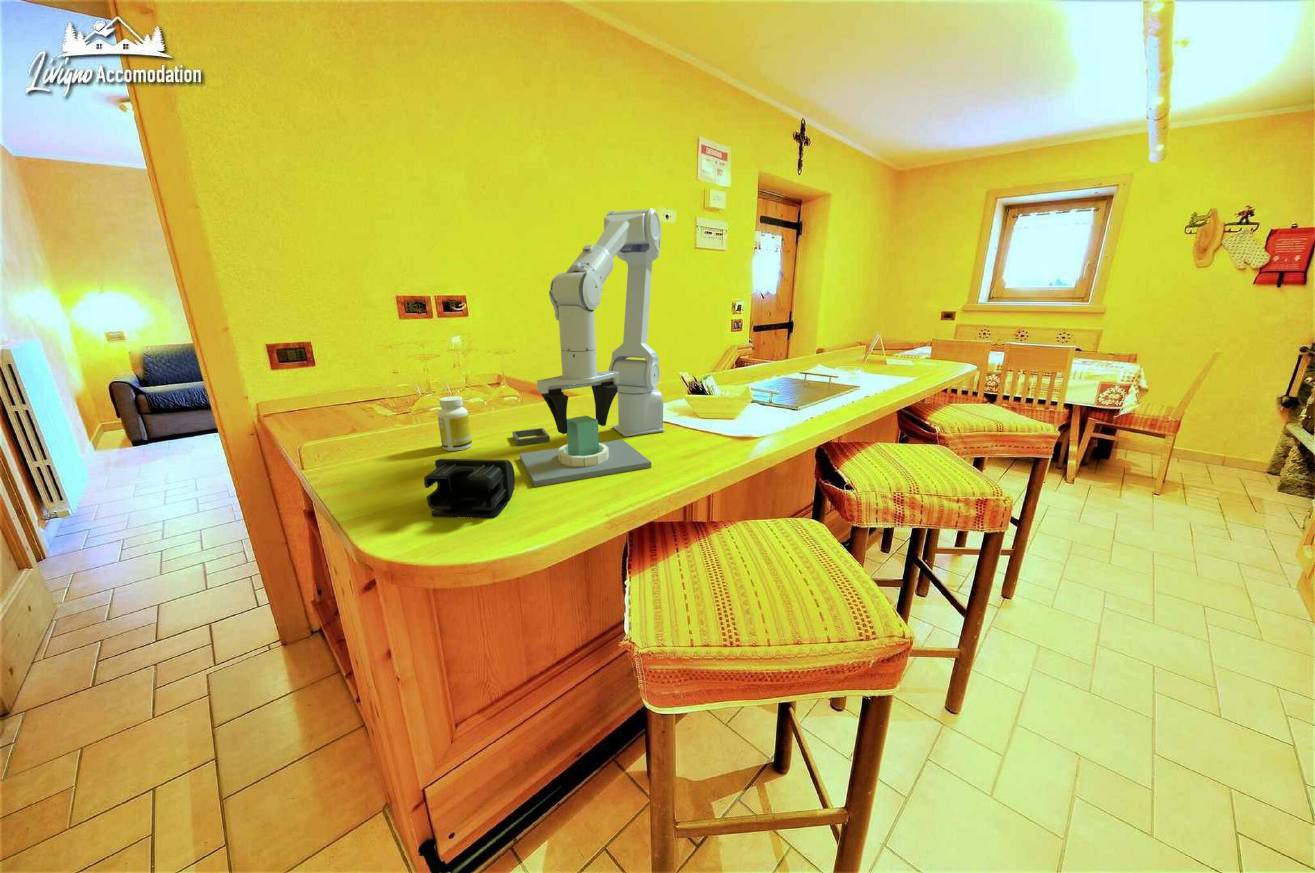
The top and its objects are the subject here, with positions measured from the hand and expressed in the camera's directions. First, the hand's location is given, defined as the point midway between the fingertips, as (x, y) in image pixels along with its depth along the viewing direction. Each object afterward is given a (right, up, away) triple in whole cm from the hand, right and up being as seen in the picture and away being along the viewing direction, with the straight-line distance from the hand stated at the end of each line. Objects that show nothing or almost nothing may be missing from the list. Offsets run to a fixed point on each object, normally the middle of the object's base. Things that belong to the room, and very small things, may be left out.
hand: (582, 428), depth 79 cm
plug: (0, -5, +2) cm, 5 cm away
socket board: (0, -6, +2) cm, 6 cm away
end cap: (-13, -11, -14) cm, 23 cm away
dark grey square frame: (-13, -2, +15) cm, 20 cm away
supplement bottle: (-26, -4, +10) cm, 28 cm away
